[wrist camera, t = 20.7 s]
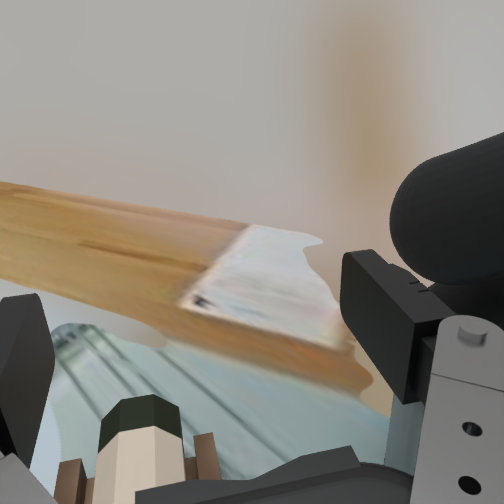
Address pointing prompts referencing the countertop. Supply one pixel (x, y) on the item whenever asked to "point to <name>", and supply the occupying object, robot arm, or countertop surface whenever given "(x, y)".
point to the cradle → (81, 489)
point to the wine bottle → (138, 449)
